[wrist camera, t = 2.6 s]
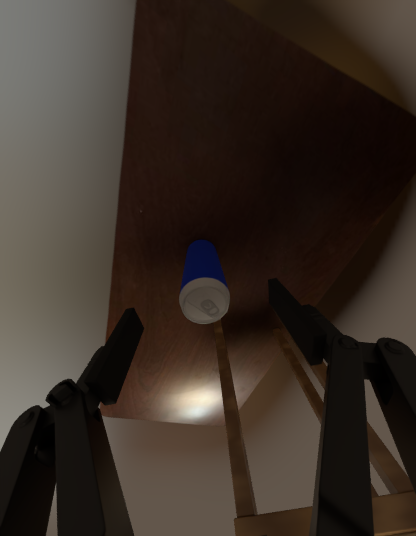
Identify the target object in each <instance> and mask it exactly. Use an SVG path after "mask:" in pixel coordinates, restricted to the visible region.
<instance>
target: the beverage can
mask: <svg viewBox="0 0 416 536" xmlns="http://www.w3.org/2000/svg"><path fill="white" fill-rule="evenodd" d="M179 301H180V306H181V308H182V311H183V313H184V315H185V316H186V317H187V318H188V319H189V320H191V321H193V322H195V323H200V324H208V323H212V322H215V321H217V320H219V319H220V318H222V317H223V316H224V315H225V313H226V312H227V310H228V307H229V302H230V293H229V290H228V287H227V284H226V281H225V277H224V274H223V271H222V268H221V265H220V261H219V258H218V255H217V252H216V249H215V247H214V245H213V244H212V243H211V242H209V241H207V240H197V241H194V242H193V243H191V244H190V246H189V247H188V250H187V255H186V261H185V267H184V273H183V279H182V285H181V290H180V297H179Z"/></svg>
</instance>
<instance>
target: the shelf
mask: <svg viewBox="0 0 416 536" xmlns="http://www.w3.org/2000/svg"><path fill="white" fill-rule="evenodd" d="M273 310H274V309H273ZM275 313H276V312H275ZM276 315H277V314H276ZM277 316H278V315H277ZM278 318H279V317H278ZM279 319H280V318H279ZM280 321H281V320H280ZM213 323H214V332H215V340H216V348H217V356H218V365H219V373H220V381H221V389H222V398H223V406H224V414H225V422H226V430H227V439H228V447H229V456H230V464H231V472H232V480H233V489H234V496H235V504H236V513H237V518H235V519H234V525H235V534H236V536H262V535H267V536H309V530H310V522H311V516H312V507H313V506H311V507H305V508H298V509H292V510H285V511H279V512H272V513H266V514H260V515H258V514H257V508H256V503H255V498H254V493H253V487H252V482H251V476H250V471H249V466H248V460H247V455H246V449H245V444H244V439H243V433H242V428H241V422H240V417H239V412H238V406H237V401H236V395H235V390H234V385H233V379H232V374H231V369H230V363H229V358H228V352H227V347H226V342H225V338H224V336H223V331H222V325H221V319H219V320H217V321H215V322H213ZM282 324H283V323H282ZM283 326H284V325H283ZM284 327H285V326H284ZM285 329H286V328H285ZM286 330H287V329H286ZM287 332H288V331H287ZM288 333H289V332H288ZM273 335H274V336H275V338H276V340H277V342H278V344H279V346H280V348H281V350H282V352H283V353H284V355H285V357H286V359H287V361H288V363H289V365H290V367H291V369H292V371H293V372H294V374H295V376H296V378H297V380H298V382H299V384H300V386H301V387H302V389H303V391H304V393H305V395H306V397H307V399H308V401H309V403H310V405H311V406H312V408H313V410H314V412H315V414H316V416H317V418H318V420H319V421H320V423H321V422H322V413H323V401H322V400H321V398H320V396H319V395H318V393H317V391H316V389H315V388H314V386H313V384H312V383H311V381H310V379H309V378H308V376H307V374H306V373H305V371H304V369H303V368H302V366H301V364H300V363H299V361H298V359H297V358H296V356H295V354H294V352H293V351H292V349H291V347H290V346H289V344H288V342H287V341H286V339H285V337H284V336H283V334H282V332H281V330H280V329H279V328H276V329H273ZM289 335H290V334H289ZM290 337H291V335H290ZM291 338H292V337H291ZM292 340H293V338H292ZM293 341H294V340H293ZM294 343H295V341H294ZM295 344H296V343H295ZM296 346H297V345H296ZM297 347H298V346H297ZM298 349H299V348H298ZM299 351H300V349H299ZM300 352H301V351H300ZM301 354H302V352H301ZM302 355H303V354H302ZM303 357H304V355H303ZM304 358H305V357H304ZM305 360H306V358H305ZM306 362H307V363H308V361H307V360H306ZM308 365H309V366H310V364H309V363H308ZM310 368H311V369H312V371H313V373H314V374H315V376H316V377H317V379H318V380H319V382H320V383H321V385H322V387H323V388H324V390H325V384H326V375H327V374H326V371H327V366H326V365H325V363H324V362H322V364H319V365H313V366H310ZM367 432H368V447H369V460H370V462H371V464H372V465H373V467H374V468H375V470H376V471H377V473H378V475H379V476H380V478H381V479H382V481H383V482H384V484H385V485H386V487H387V489H388V490H389V492H390V493H391V494H388V495H382V496H378V494H377V492H376V491H375V489H374V487H373V485H372V484H371V493H372V509H373V524H374V536H389V535H396V534H403V533H410V532H416V494H415V492H414V489H413V487H412V484H411V482H410V479H409V477H408V476H407V475H406V473H405V472H404V471H403V469H402V468H401V467H400V465H399V464H398V462H397V461H396V460H395V459H394V457H393V456H392V454H391V453H390V452H389V450H388V449H387V448H386V446H385V445H384V443H383V442H382V441H381V439H380V438H379V437H378V435H377V434H376V433H375V431H374V430H373V429H372V427H371V426H370V424H369V423H368V422H367Z"/></svg>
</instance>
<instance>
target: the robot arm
mask: <svg viewBox="0 0 416 536" xmlns="http://www.w3.org/2000/svg"><path fill="white" fill-rule="evenodd" d="M268 286H269V303H270V305H271V306H272V308H273V309H274V311H275V312H276V314H277V315H278V317H279V318H280V320H281V322H282V323H283V325H284V326H285V328H286V329H287V331H288V332H289V334H290V335H291V337H292V338H293V340H294V341H295V343H296V345H297V346H298V348H299V349H300V351H301V352H302V354H303V355H304V357H305V358H306V360H307V361H308V363H309V364H310V366H313V365H319V364H322V362H323V358H324V359H325V361H326V362H327V363H328V366H327V371H326V374H327V375H326V384H325V394H324V403H323V413H322V422H321V432H320V442H319V451H318V461H317V470H316V480H315V489H314V498H313V507H312V516H311V522H310V530H309V536H374V524H373V509H372V493H371V478H370V463H369V447H368V432H367V417H366V401H365V386H364V379H367V380H370V382H371V384H372V387H373V389H374V392H375V394H376V397H377V399H378V402H379V404H380V407H381V409H382V412H383V414H384V417H385V419H386V422H387V424H388V427H389V429H390V432H391V434H392V437H393V439H394V441H395V444H396V447H397V449H398V452H399V454H400V457H401V459H402V462H403V464H404V467H405V469H406V472H407V474H408V477H409V479H410V482H411V484H412V487H413V489H414V492H415V494H416V356H415V354H414V353H413V351H412V350H411V349H410V348H409V347H408V346H407V345H405V344H403V343H402V342H400V341H397V340H395V339H391V338H380V339H378V341H377V343H365V342H358V341H356V340H355V339H354V338H352V337H350V336H347V335H343V334H342V333H341V332H340V331H339V330H338V329H337V328H336V327H335V326H334V325H333V324H332V323H330V321H328V320H327V319H326V318H325V317H324V316H323V315H322V314H321V313H320V312H319V311H318V310H317V309H316V308H315V307H313V306H311V305H309V304H308V305H303V306H301V305H300V303H299V302H298V301H297V300H296V299H295V298H294V297H293V296H292V295H291V294H290V293H289V291H288V290H287V289H286V288H285V287H284V286H283V285H282V284H281V283H280V282H279V281H278V279H277V278H274V279H269V280H268ZM143 330H144V327H143V325H142V323H141V321H140V319H139V317H138V315H137V313H136V311H135V309H134V308H129V309H126V310H125V312H124V313H123V315H122V317H121V319H120V320H119V322H118V324H117V325H116V327H115V329H114V330H113V332H112V334H111V336H110V337H109V339H108V341H107V342H106V344H105V346H102V347H100V348H99V349H98V350H97V351H96V353H95V354H94V355H93V357H92V358H91V361H90V362H89V363H88V366H87V367H86V368H85V370H84V372H83V373H82V375H81V376H80V378H79V380H78V381H77V383H76V384H75V382H74V381H73V380H72V379H67V380H63V381H62V382H60V383H58V384H57V385H56V386H55V387H54V388H53V389H52V390H51V391H50V392H49V394H48V395H47V397H46V402H48V403H49V404H50V406H48V407H46V408H44V409H43V408H42V407H40V406H39V405H36V406H33V407H31V408H29V409H28V410H27V411H25V412H24V413H23V414H22V415H20V416H19V417H18V419H17V420H16V421H15V422H14V424H13V425H12V427H11V429H10V431H9V433H8V436H7V438H6V440H5V442H4V445H3V447H2V449H1V451H0V536H46V532H47V526H48V521H49V516H50V511H51V506H52V500H53V496H54V490H55V485H56V491H57V528H58V536H134V533H133V529H132V525H131V522H130V518H129V514H128V511H127V507H126V503H125V500H124V496H123V492H122V489H121V485H120V481H119V478H118V474H117V470H116V467H115V463H114V459H113V456H112V452H111V448H110V444H109V441H108V437H107V433H106V430H105V426H104V423H103V419H102V415H101V411H100V409H99V408H98V406H99V404H100V401H101V402H102V403H103V404H104V405H110V404H115V403H116V402H117V399H118V397H119V394H120V391H121V389H122V386H123V383H124V381H125V378H126V375H127V373H128V370H129V367H130V365H131V362H132V359H133V357H134V354H135V351H136V349H137V346H138V343H139V341H140V338H141V335H142V333H143ZM262 536H267V535H262Z"/></svg>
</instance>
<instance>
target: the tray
mask: <svg viewBox="0 0 416 536" xmlns="http://www.w3.org/2000/svg"><path fill="white" fill-rule="evenodd" d="M389 536H416V532H410V533H403V534H396V535H389Z"/></svg>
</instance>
